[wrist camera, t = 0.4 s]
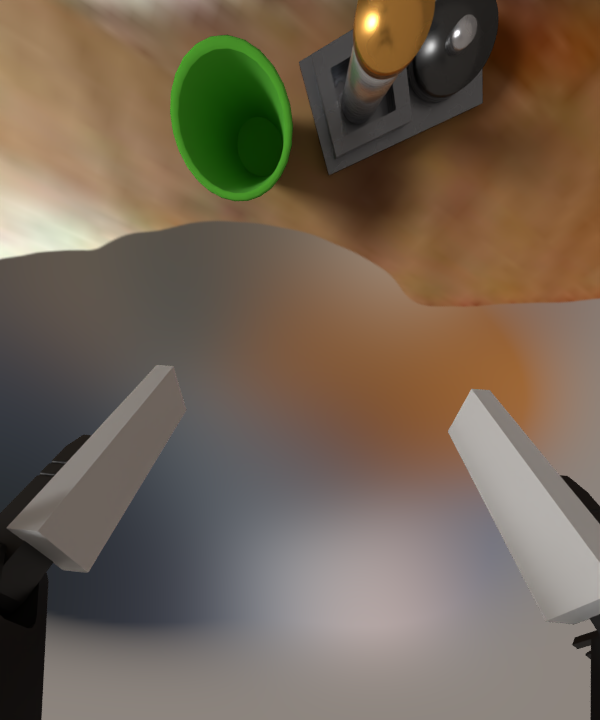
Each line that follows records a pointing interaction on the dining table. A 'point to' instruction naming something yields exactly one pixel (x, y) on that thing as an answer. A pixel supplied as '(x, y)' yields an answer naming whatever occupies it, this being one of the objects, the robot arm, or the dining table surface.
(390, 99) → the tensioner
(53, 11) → the dining table surface
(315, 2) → the dining table surface
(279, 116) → the cup
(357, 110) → the pin
